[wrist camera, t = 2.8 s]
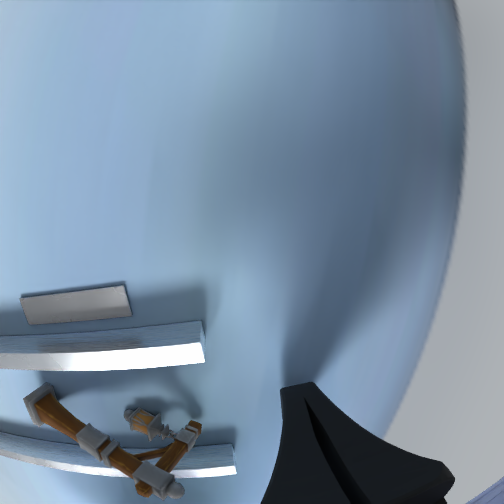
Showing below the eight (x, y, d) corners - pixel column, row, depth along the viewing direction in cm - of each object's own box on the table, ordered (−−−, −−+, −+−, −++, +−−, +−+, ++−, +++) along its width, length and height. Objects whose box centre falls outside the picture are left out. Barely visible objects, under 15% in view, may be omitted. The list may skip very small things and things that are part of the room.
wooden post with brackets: (218, 445, 12) (175, 518, 8) (86, 384, 14) (31, 426, 10) (221, 421, 11) (172, 499, 7) (80, 358, 14) (19, 400, 9)
